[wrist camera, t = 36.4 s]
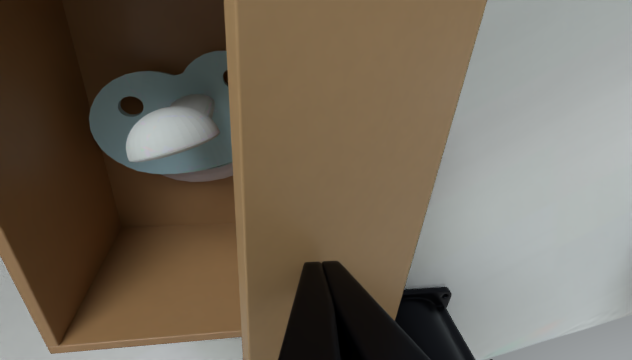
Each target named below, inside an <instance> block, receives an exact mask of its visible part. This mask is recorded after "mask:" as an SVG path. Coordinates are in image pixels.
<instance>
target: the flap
mask: <svg viewBox="0 0 632 360" xmlns="http://www.w3.org/2000/svg"><path fill="white" fill-rule="evenodd" d="M486 3H487V0H224V14H225V32H226V51H227V69H228V88H229V107H230V125H231V144H232V162H233V181H234V200H235V218H236V237H237V255H238V274H239V293H240V311H241V330H242V348H243V360H278V357H279V354H280V350H281V346H282V342H283V339H284V335H285V331H286V328H287V324H288V320H289V317H290V313H291V309H292V305H293V302H294V298H295V294H296V291H297V287H298V283H299V279H300V276H301V272H302V268H303V265H304V263H305V262H316V261H319V262H321V263H322V262H323V261H339V262H340V263H341V264H342V265H343V266H344V267H345V268H346V269H347V270H348V271H349V273H350V274H351V275H352V276H353V277H354V278H355V279H356V280H357V281H358V282H359V283H360V284H361V285H362V286H363V288H364V289H365V290H366V291H367V292H368V293H369V294H370V295H371V296H372V297H373V298H374V299H375V300H376V302H377V303H378V304H379V305H380V306H381V307H382V308H383V309H384V310H385V311H386V312H387V313H388V314H389V315H390V317H391V318H392V319H393V320H394V321H395V318H396V315H397V311H398V308H399V305H400V301H401V298H402V294H403V291H404V287H405V284H406V280H407V277H408V273H409V270H410V266H411V263H412V259H413V256H414V252H415V249H416V246H417V242H418V239H419V235H420V232H421V228H422V225H423V221H424V218H425V214H426V211H427V207H428V204H429V200H430V197H431V193H432V190H433V187H434V183H435V180H436V176H437V173H438V169H439V166H440V162H441V159H442V155H443V152H444V148H445V145H446V141H447V138H448V134H449V131H450V128H451V124H452V121H453V117H454V114H455V110H456V107H457V103H458V100H459V96H460V93H461V89H462V86H463V82H464V79H465V76H466V72H467V69H468V65H469V62H470V58H471V55H472V51H473V48H474V44H475V41H476V37H477V34H478V30H479V27H480V23H481V20H482V17H483V13H484V10H485V6H486Z"/></svg>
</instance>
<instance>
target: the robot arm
mask: <svg viewBox="0 0 632 360" xmlns="http://www.w3.org/2000/svg"><path fill="white" fill-rule="evenodd" d="M450 297H451V292H450V290H449V289H448V288H447V287H439V288H425V289H411V290H404V291H403V294H402V298H401V301H400V305H399V308H398V311H397V315H396V318H395V321H394V320H393V319H392V318H391V317H390V315H389V314H388V313H387V312H386V311H385V310H384V309H383V308H382V307H381V306H380V305H379V304H378V303H377V302H376V300H375V299H374V298H373V297H372V296H371V295H370V294H369V293H368V292H367V291H366V290H365V289H364V288H363V286H362V285H361V284H360V283H359V282H358V281H357V280H356V279H355V278H354V277H353V276H352V275H351V274H350V273H349V271H348V270H347V269H346V268H345V267H344V266H343V265H342V264H341V263H340V262H339V261H323V262H322V263H321V262H319V261H316V262H305V263H304V265H303V268H302V272H301V276H300V279H299V283H298V287H297V291H296V294H295V298H294V302H293V305H292V309H291V313H290V317H289V320H288V324H287V328H286V331H285V335H284V339H283V342H282V346H281V350H280V354H279V357H278V360H475V358H474V357H473V355H472V353H471V351H470V350H469V348H468V346H467V344H466V343H465V341H464V339H463V337H462V336H461V334H460V332H459V330H458V329H457V327H456V325H455V323H454V322H453V320H452V318H451V316H450V315H449V313H448V311H447V310H446V308H447V305H448V303H449V300H450ZM491 360H492V359H491Z"/></svg>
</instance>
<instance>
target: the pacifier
mask: <svg viewBox="0 0 632 360" xmlns="http://www.w3.org/2000/svg"><path fill="white" fill-rule="evenodd" d="M226 70H228V69H227V51H213V52H210V53H206V54H203V55H202V56H200V57H198V58H196V59H195V60H194V61H193V62H191V63H190V64H189V65H188V66H187V67H186V69H185V71H184V72H183V73H181V74H179V75H172V74H169V73H165V72H160V71H138V72H134V73H129V74H125V75H123V76H121V77H118V78H116V79H114V80H112V81H111V82H110V83H108V84H107V85H106V86H105V87H103V88H102V89H101V91H100V92H99V93H98V95H97V96H96V97H95V99H94V101H93V104H92V106H91V109H90V115H89V122H90V130H91V132H92V135H93V137H94V139H95V141H96V142H97V144H98V145H99V147H100V148H101V149H102V150H103V151H104V152H105V153H106V154H107V155H108V156H110V157H111V158H113V159H114V160H115V161H117V162H119V163H121V164H123V165H125V166H127V167H129V168H132V169H134V170H137V171H141V172H147V173H152V174H161V175H163V176H166V177H169V178H172V179H175V180H180V181H188V182H206V181H213V180H218V179H224V178H227V177H230V176H233V162H232V144H231V125H230V107H229V88H228V84H227V83H226V82H225V80H224V78H223V74H224V72H225V71H226ZM128 96H133V97H136V98H138V99H140V100H141V101H142V103H143V106H144V108H143V111H142V112H141V113H139V114H128V113H126V112H124V111H123V110H122V108H121V106H120V102H121V100H122V98H124V97H128Z"/></svg>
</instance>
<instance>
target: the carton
mask: <svg viewBox="0 0 632 360" xmlns="http://www.w3.org/2000/svg"><path fill="white" fill-rule="evenodd" d="M213 51H226V32H225V14H224V0H0V256H1V258H2V260H3V262H4V264H5V266H6V268H7V270H8V272H9V274H10V276H11V278H12V280H13V282H14V284H15V285H16V287H17V289H18V291H19V293H20V295H21V297H22V299H23V301H24V303H25V305H26V307H27V309H28V311H29V313H30V315H31V317H32V318H33V320H34V322H35V324H36V326H37V328H38V330H39V332H40V334H41V336H42V338H43V340H44V342H45V344H46V346H47V347H48V350H49V351H50V353H51V354H54V353H65V352H77V351H88V350H99V349H110V348H122V347H133V346H144V345H156V344H167V343H178V342H189V341H201V340H212V339H223V338H235V337H242V330H241V311H240V293H239V274H238V255H237V237H236V218H235V200H234V181H233V176H230V177H227V178H224V179H218V180H213V181H206V182H188V181H180V180H175V179H172V178H169V177H166V176H163V175H161V174H152V173H147V172H141V171H137V170H134V169H132V168H129V167H127V166H125V165H123V164H121V163H119V162H117V161H115V160H114V159H113V158H111V157H110V156H108V155H107V154H106V153H105V152H104V151H103V150H102V149H101V148H100V147H99V145H98V144H97V142H96V141H95V139H94V137H93V135H92V132H91V130H90V122H89V115H90V109H91V106H92V104H93V101H94V99H95V97H96V96H97V95H98V93H99V92H100V91H101V89H102V88H103V87H105V86H106V85H107V84H108V83H110V82H111V81H112V80H114V79H116V78H118V77H121V76H123V75H125V74H129V73H134V72H138V71H160V72H165V73H169V74H172V75H179V74H181V73H183V72H184V71H185V69H186V67H187V66H188V65H189V64H190V63H191V62H193V61H194V60H195V59H196V58H198V57H200V56H202V55H203V54H206V53H210V52H213ZM223 78H224V80H225V82H226V83H227V84H228V70H226V71H225V72H224V74H223ZM120 106H121V108H122V110H123V111H124V112H126V113H128V114H139V113H141V112H142V111H143V108H144V106H143V103H142V101H141V100H140V99H138V98H136V97H133V96H128V97H124V98H122V100H121V102H120Z"/></svg>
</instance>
